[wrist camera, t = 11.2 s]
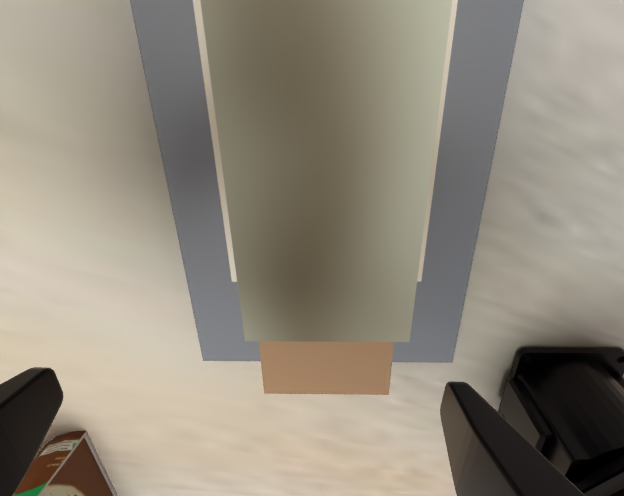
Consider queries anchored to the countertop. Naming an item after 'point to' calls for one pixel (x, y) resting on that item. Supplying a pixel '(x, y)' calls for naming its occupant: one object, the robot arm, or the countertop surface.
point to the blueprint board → (439, 212)
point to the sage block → (326, 158)
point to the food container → (67, 470)
